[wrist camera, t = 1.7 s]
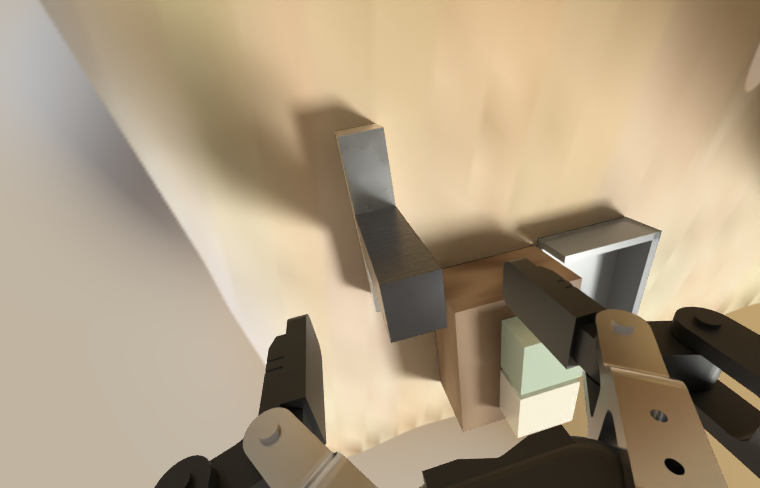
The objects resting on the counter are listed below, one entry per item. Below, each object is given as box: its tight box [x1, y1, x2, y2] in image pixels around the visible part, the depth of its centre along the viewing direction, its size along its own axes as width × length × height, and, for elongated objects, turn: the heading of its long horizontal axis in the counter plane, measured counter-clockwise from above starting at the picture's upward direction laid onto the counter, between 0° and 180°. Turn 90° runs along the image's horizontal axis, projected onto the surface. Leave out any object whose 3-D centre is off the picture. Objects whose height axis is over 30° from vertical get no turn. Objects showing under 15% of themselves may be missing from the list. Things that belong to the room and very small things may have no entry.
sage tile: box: [501, 316, 583, 395], centre depth 21 cm, size 4×4×2 cm
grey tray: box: [537, 217, 662, 374], centre depth 27 cm, size 8×14×3 cm, turn 10°
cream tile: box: [499, 370, 580, 438], centre depth 23 cm, size 4×4×2 cm
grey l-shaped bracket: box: [335, 123, 447, 343], centre depth 17 cm, size 2×12×10 cm, turn 10°
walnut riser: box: [435, 246, 582, 432], centre depth 25 cm, size 9×13×5 cm
